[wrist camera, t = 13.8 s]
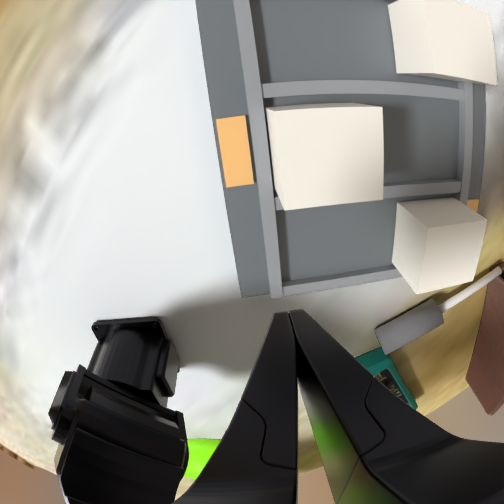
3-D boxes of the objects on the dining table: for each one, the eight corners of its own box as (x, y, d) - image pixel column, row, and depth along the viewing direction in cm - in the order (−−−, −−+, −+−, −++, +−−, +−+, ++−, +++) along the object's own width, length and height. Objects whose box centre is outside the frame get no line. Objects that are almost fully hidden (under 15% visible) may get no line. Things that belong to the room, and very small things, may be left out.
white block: (391, 262, 21) (416, 294, 17) (397, 202, 19) (428, 227, 15) (444, 252, 21) (472, 280, 17) (453, 197, 19) (487, 220, 15)
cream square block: (396, 73, 15) (433, 73, 11) (387, 5, 12) (421, -10, 9) (457, 81, 15) (497, 85, 11) (450, 18, 12) (488, 13, 9)
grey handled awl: (372, 324, 25) (376, 337, 27) (383, 348, 23) (386, 359, 25) (493, 252, 23) (490, 269, 24) (509, 271, 21) (504, 286, 22)
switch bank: (241, 287, 23) (241, 303, 21) (196, -4, 13) (192, -13, 11) (460, 252, 23) (472, 264, 21) (466, 15, 13) (482, 12, 11)
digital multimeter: (380, 338, 27) (391, 360, 25) (413, 395, 33) (420, 412, 31) (315, 373, 29) (321, 396, 27) (364, 420, 35) (369, 437, 33)
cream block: (273, 185, 18) (284, 210, 14) (265, 107, 16) (274, 111, 12) (355, 177, 18) (382, 199, 14) (352, 102, 16) (382, 106, 12)
